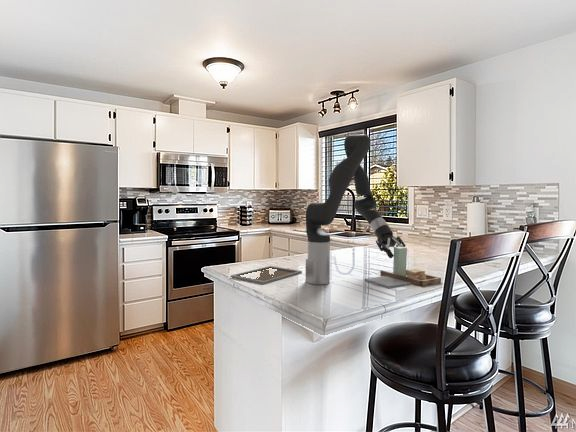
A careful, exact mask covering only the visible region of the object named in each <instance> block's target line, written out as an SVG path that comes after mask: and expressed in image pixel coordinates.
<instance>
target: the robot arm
mask: <svg viewBox="0 0 576 432" xmlns="http://www.w3.org/2000/svg"><path fill="white" fill-rule="evenodd" d="M343 142H344V143H343V147H344V151H345V155H346V157H345V158H344V159H343V160H341V161H340V162H339V163H337V164H336V165H335V166H334V167H333V170H332V172H331V173H330V175H329V176H328V177H329V178H328V188H329V196H328V198H327V199H326V200H325V202H310V203H309V204H307V207H306V210H305V227H306V228H305V230H306V231H305V233H306V236H307V258H306V259H305V283H308V284H311V285H328V284H330V280H331V277H330V276H331V271H330V270H331V269H330V268H331V265H330V263H331V235H330V234H329V233H327V232H326V231H325V230H323V228H322V226H329V225H331V224H332V222H333V221H334V220H335V217H336V215H337V212H338V210H339V208H340V205H341V202H342V199H343V198H344V195H345V194H346V191H347V189H348V188H349V186H350V185H351V182H352V180H353V182H354V189H355V193H356V194H357V195H358V196H364V197H361V198H358V199H355V201H354V203H353V207H354V209H355V210H356V212H357V213H358V214H360V216H361V217H362V218H364V219H365V220H366V222H367V223H368V225H369V226H370V228H371V230H372V231H373V233H374V235H375V237H376V238H377V239H376V240H375V244H376V245H377V247H378V248H379V251H381V252H384V253H386V255H387V256H388V258H389V259H392V258H394V252H392V251H391V249H390V248H393V249H394V248H395V247H406V246H407V245H406V244H405V242H404V241H403V240H402V238H401V236H397V237H395V236H394V234H393V233H394V232H393V230H392V229H391V227H390V226H389V224H388V223H387V222H386V219H384V218H383V216H382V215H381V213H380V212H379V211H378V210H377V209H374V208H375V207H376V206H377V205H376V199H375V197H374V195H373V192H372V191H371V186H370V179H369V176H368V174H367V172H366V170H365V169H364V168H363V167H362V165H361V163H362V161H363V160H364V159H365V158H366V156H367V154H368V152H369V151H370V147H371V143H372V142H371V138H370V136H369V135H367V134H362V133H361V134H348V135H347V136H346V137H345V139H344V141H343Z"/></svg>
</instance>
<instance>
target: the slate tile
mask: <svg viewBox="0 0 576 432" xmlns="http://www.w3.org/2000/svg"><path fill="white" fill-rule="evenodd" d="M364 281H365V282H367V283H371V284H373V285H374V284H375V285H377V286H380V287H384V288H387V289H391V288H392V289H393V288H397V287H405V286H410V285H411V283H410V282H406V281H402V280H399V279H395V278H391V277H388V276H383V275H380V276H375V277H374V276H373V277H369V278H368V277H367V278H364Z"/></svg>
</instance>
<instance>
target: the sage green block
mask: <svg viewBox="0 0 576 432" xmlns="http://www.w3.org/2000/svg"><path fill="white" fill-rule="evenodd" d="M393 255H394V256H393V268H392V269H393V270H392V273H394V274H398V275H402V276H406V277H407V275H406V270H407V257H408V248H407V247H406V246H405V247H399V246H398V247H395V248H394V247H393Z"/></svg>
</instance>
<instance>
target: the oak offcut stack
mask: <svg viewBox="0 0 576 432" xmlns="http://www.w3.org/2000/svg"><path fill="white" fill-rule="evenodd" d="M406 270H407V275H406V277H410V278H414V279H417V280H426V275H427V274H426V270H423V269H418V268H416V269H415V268H414V269H406Z"/></svg>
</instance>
